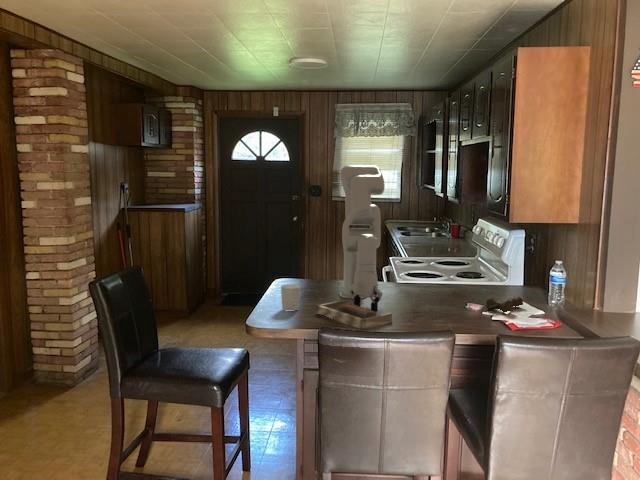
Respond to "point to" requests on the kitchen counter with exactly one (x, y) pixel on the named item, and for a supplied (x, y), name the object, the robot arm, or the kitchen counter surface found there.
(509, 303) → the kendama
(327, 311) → the wooden frame
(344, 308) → the packaged product
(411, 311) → the kitchen counter surface
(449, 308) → the kitchen counter surface
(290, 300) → the white cup
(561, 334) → the kitchen counter surface
